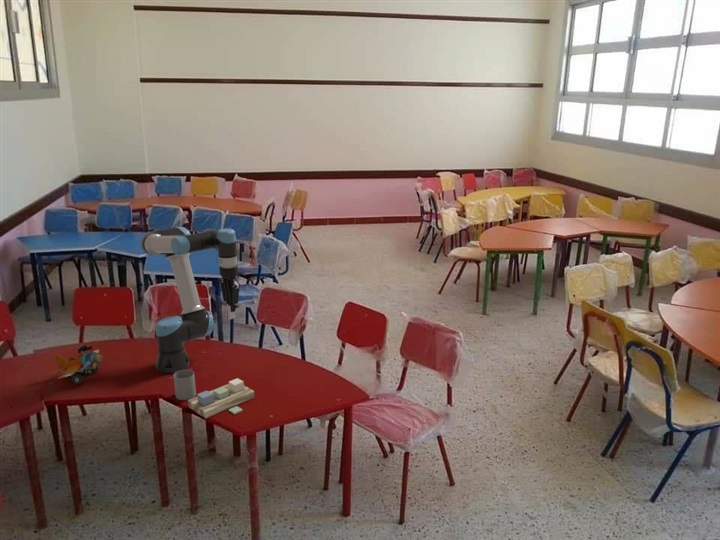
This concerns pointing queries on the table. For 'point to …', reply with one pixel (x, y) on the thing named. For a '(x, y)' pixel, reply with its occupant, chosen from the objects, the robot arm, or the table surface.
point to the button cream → (236, 386)
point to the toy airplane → (79, 364)
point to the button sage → (221, 393)
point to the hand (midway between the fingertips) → (231, 318)
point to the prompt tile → (235, 410)
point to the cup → (184, 384)
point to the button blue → (205, 398)
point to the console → (221, 402)
